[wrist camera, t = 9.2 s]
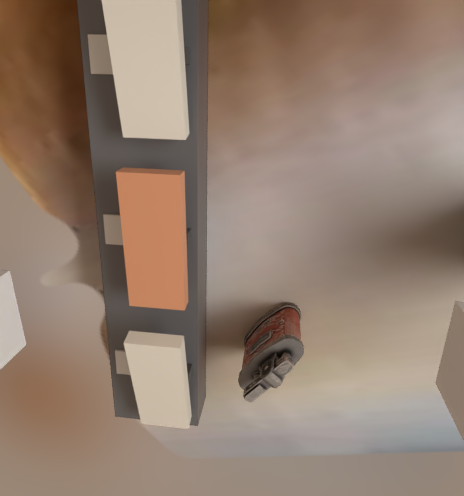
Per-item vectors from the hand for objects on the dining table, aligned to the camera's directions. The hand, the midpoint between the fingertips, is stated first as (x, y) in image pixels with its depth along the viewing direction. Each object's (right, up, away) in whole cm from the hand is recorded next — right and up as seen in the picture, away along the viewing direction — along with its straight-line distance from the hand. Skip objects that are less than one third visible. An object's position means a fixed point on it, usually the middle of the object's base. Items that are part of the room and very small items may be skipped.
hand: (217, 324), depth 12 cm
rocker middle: (-6, +3, +24) cm, 25 cm away
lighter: (+5, -7, +35) cm, 36 cm away
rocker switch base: (-7, +7, +31) cm, 33 cm away
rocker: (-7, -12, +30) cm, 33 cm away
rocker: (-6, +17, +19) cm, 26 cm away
